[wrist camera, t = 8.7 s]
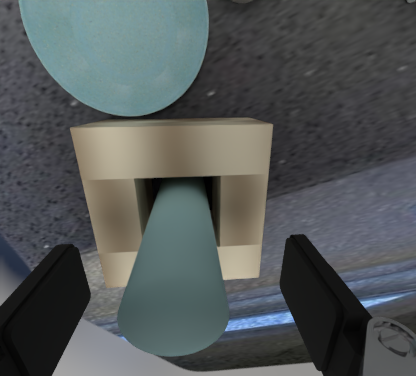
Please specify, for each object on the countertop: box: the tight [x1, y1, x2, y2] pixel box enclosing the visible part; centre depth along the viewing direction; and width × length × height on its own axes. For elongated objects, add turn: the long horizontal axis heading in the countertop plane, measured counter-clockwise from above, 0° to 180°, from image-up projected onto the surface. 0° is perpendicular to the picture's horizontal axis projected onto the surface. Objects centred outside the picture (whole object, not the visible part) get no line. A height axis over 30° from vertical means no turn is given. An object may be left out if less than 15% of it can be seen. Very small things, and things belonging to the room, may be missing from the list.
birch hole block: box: [70, 117, 273, 288], centre depth 18 cm, size 12×12×6 cm
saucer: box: [19, 0, 209, 117], centre depth 16 cm, size 12×12×2 cm
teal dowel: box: [117, 176, 229, 356], centre depth 15 cm, size 4×4×14 cm
